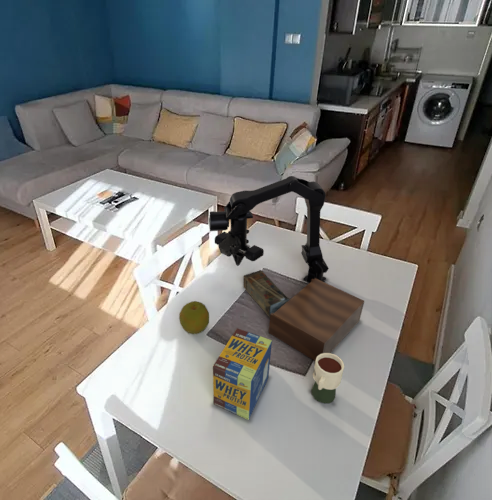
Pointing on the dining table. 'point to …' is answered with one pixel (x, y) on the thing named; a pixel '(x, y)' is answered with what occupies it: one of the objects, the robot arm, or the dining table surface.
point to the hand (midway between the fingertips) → (238, 265)
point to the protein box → (241, 372)
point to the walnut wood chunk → (316, 318)
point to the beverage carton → (264, 292)
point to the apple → (194, 317)
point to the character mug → (327, 377)
